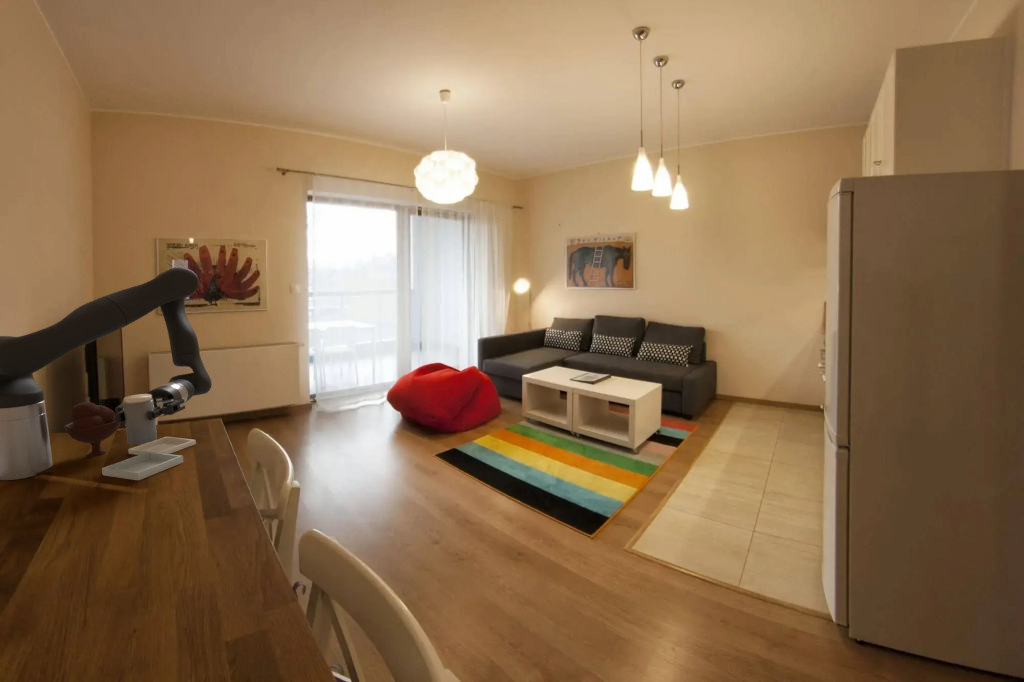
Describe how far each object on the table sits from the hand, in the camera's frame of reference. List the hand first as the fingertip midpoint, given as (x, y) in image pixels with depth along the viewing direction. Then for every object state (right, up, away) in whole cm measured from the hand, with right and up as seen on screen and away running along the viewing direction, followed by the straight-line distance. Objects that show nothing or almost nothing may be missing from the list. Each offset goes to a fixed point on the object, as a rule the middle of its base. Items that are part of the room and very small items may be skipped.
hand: (134, 417), depth 107 cm
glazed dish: (-1, -14, +4) cm, 15 cm away
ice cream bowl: (-21, -13, +13) cm, 28 cm away
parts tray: (-6, -12, +17) cm, 22 cm away
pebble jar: (-1, -6, +3) cm, 7 cm away
